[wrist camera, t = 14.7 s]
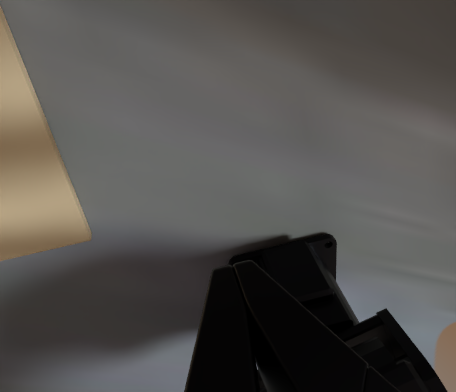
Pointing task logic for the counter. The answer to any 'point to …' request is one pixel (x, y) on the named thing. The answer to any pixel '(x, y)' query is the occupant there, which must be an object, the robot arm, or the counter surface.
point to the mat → (31, 168)
